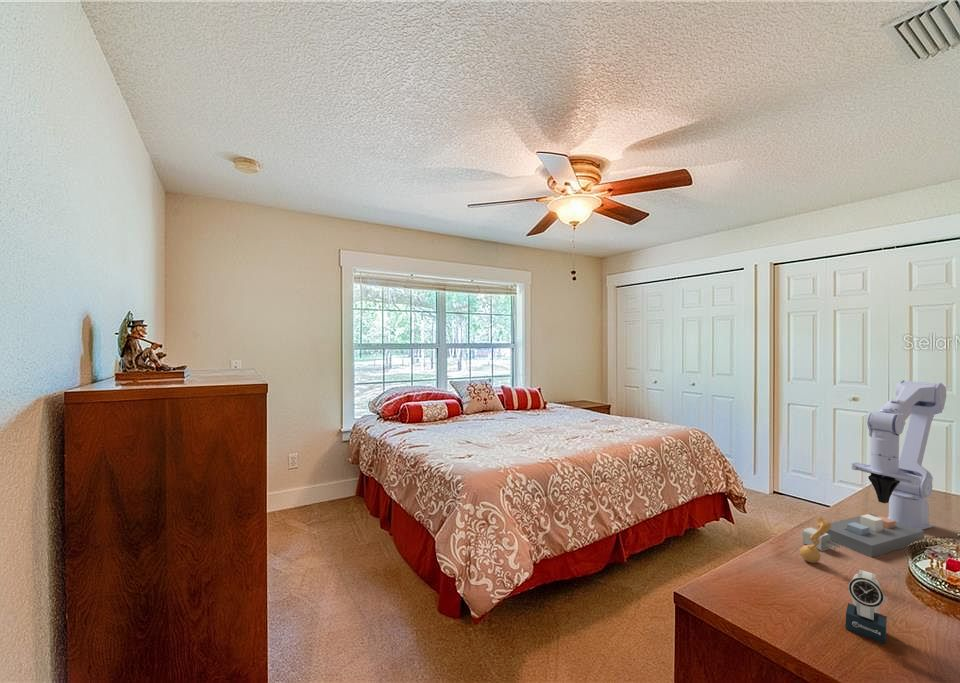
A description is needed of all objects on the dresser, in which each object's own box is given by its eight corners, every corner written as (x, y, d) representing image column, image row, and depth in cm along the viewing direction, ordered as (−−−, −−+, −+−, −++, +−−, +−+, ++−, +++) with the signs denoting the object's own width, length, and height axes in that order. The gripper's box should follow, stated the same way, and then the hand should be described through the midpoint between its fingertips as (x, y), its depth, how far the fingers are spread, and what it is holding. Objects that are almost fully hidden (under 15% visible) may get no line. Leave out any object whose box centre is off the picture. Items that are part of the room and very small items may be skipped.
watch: (844, 633, 79) (845, 576, 79) (848, 614, 85) (849, 560, 85) (885, 650, 75) (887, 589, 75) (887, 628, 81) (888, 572, 81)
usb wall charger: (811, 541, 115) (812, 526, 115) (841, 553, 109) (841, 538, 109) (802, 544, 114) (803, 529, 114) (832, 556, 107) (832, 541, 107)
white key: (867, 526, 119) (867, 514, 119) (882, 531, 116) (882, 519, 116) (860, 528, 118) (860, 515, 118) (875, 533, 114) (875, 520, 114)
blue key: (854, 534, 117) (854, 522, 117) (869, 540, 114) (869, 527, 114) (846, 536, 116) (846, 523, 116) (861, 542, 112) (861, 529, 112)
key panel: (870, 523, 127) (871, 513, 126) (924, 541, 115) (924, 530, 115) (819, 536, 118) (819, 525, 118) (871, 557, 107) (871, 545, 107)
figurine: (807, 553, 109) (808, 507, 108) (836, 564, 103) (837, 516, 103) (793, 562, 104) (794, 515, 104) (823, 574, 99) (824, 524, 99)
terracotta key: (880, 527, 121) (880, 515, 121) (895, 533, 118) (895, 520, 118) (873, 529, 120) (873, 517, 120) (887, 535, 117) (888, 522, 117)
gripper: (845, 449, 124) (844, 494, 124) (910, 463, 110) (909, 514, 111) (860, 447, 127) (859, 491, 127) (925, 460, 113) (923, 510, 113)
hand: (883, 502), depth 119 cm, fingers closed
